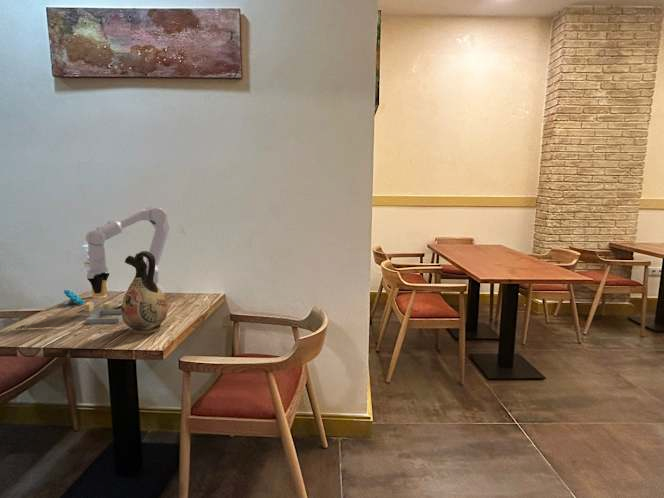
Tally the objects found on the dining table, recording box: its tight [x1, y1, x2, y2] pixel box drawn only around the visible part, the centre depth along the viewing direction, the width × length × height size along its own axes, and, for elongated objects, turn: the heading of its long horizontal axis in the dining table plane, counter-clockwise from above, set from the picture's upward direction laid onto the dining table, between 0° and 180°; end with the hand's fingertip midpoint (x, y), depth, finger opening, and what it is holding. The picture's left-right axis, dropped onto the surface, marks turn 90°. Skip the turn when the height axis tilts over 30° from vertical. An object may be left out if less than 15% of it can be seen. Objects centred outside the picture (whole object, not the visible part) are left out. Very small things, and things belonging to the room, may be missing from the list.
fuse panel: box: [77, 301, 119, 315], centre depth 170 cm, size 12×10×4 cm
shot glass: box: [90, 281, 108, 299], centre depth 193 cm, size 7×7×7 cm
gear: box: [63, 289, 86, 306], centre depth 178 cm, size 11×6×10 cm
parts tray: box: [85, 308, 124, 327], centre depth 159 cm, size 12×12×2 cm
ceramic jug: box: [121, 250, 169, 335], centre depth 146 cm, size 17×15×30 cm
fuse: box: [91, 280, 108, 297], centre depth 166 cm, size 4×3×6 cm, turn 96°
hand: (99, 291), depth 166 cm, fingers closed on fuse, 3 cm apart
